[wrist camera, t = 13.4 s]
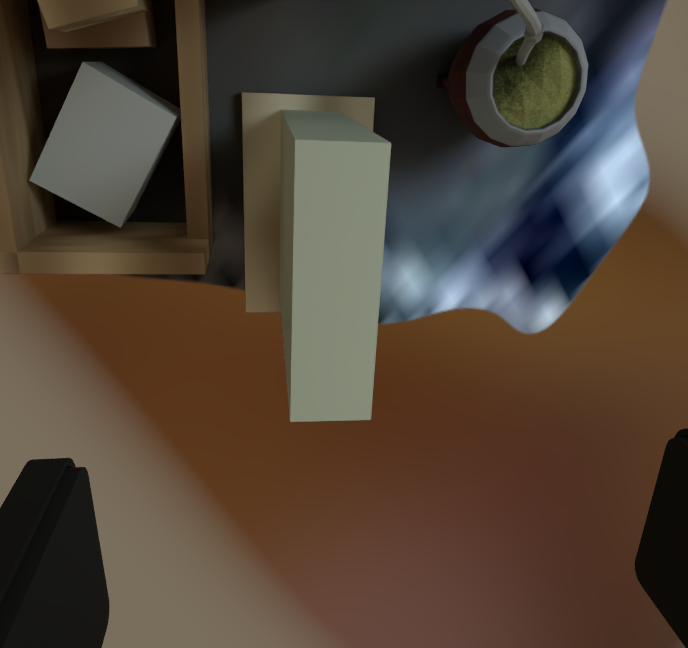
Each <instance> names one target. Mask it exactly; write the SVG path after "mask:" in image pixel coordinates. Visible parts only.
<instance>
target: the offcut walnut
mask: <svg viewBox="0 0 688 648" xmlns="http://www.w3.org/2000/svg"><path fill="white" fill-rule="evenodd" d="M145 1H146V4H147V7H148V11H144V12H141V13H137V14H133V15H129V16H125V17H122V18H118V19H114V20H110V21H106V22H103V23H99V24H95V25H91V26H87V27H84V28H80V29H76V30H72V31H68V32H63V31H57V30H52V29H48V26H47V24H46V21H45V18H44V16H43V13H42V11H41V8H40V6H39V8H40V13H41V19H42V24H43V29H44V34H45V40H46V45H47V48H51V49H64V50H65V49H112V48H158V42H157V34H156V26H155V19H154V11H153V3H152V0H145Z"/></svg>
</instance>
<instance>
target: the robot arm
mask: <svg viewBox="0 0 688 648" xmlns="http://www.w3.org/2000/svg"><path fill="white" fill-rule="evenodd" d="M635 571H636V575H637V578H638V581H639V582H640V584H641V586H642V587H643V589H644V590H645V591H646V593H647V594H648V596H649V597H650V598H651V600H652V601H653V603H654V604H655V605H656V607H657V608H658V610H659V611H660V612H661V614H662V615H663V616H664V618H665V619H666V621H667V622H668V624H669V625H670V626H671V628H672V629H673V630H674V632H675V633H676V635H677V636H678V637H679V639H680V640H681V642H682V643H683V644H684V646H685V647H686V648H688V429H682V430H680V431H678V432H677V434H676V435H675V437H674V438H673V439H670V440H669V441H668V443H667V445H666V448H665V452H664V456H663V459H662V463H661V467H660V471H659V474H658V478H657V482H656V485H655V489H654V493H653V496H652V500H651V504H650V507H649V511H648V515H647V519H646V522H645V526H644V530H643V534H642V537H641V541H640V544H639V548H638V552H637V556H636V559H635ZM108 619H109V597H108V591H107V585H106V579H105V574H104V567H103V561H102V555H101V549H100V543H99V537H98V531H97V524H96V518H95V512H94V506H93V500H92V494H91V488H90V482H89V476H88V472H87V470H86V468H85V467H75V464H74V462H73V460H72V459H71V458H58V459H37V460H30V461H28V462H27V464H26V465H25V466H24V468H23V470H22V472H21V474H20V475H19V477H18V479H17V480H16V482H15V484H14V485H13V487H12V489H11V491H10V492H9V494H8V496H7V497H6V499H5V501H4V503H3V504H2V506H1V508H0V648H101V647H102V644H103V640H104V636H105V633H106V629H107V625H108Z"/></svg>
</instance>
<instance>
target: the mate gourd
mask: <svg viewBox="0 0 688 648" xmlns="http://www.w3.org/2000/svg"><path fill="white" fill-rule="evenodd" d="M510 1H511V3H512V4H513V6H514V7H515V9H516V10H506V11H504V12H502V13H500V14H498V15H497V16H495V17H493V18H491V19H489V20H487V21H486V22H484V23H482V24H480V25H478V26H477V27H476V29H475V30H474V31H473V32H472V33H471V34H470V35H469V37H468V38H467V39H466V40H465V41H464V42H463V43H462V44H461V46H460V48H459V50H458V52H457V55H456V57H455V59H454V61H453V64H452V66H451V68H450V72H449V74H440V75H438V76H437V87H438V88H448V92H449V96H450V99H451V101H452V103H453V105H454V108H455V110H456V113H457V116H458V118H459V120H460V121H461V122H462V123H463V124H464V125H465V126H466V127H467V128H468V129H469V130H470V131H471V132H472V133H473V134H474V135H475V136H476V137H477V138H478V139H480V140H483V141H486V142H488V143H491V144H494V145H497V146H499V147H517V146H529V145H535V144H537V143H539V142H541V141H543V140H545V139H547V138H549V137H551V136H553V135H555V134H557V133H558V132H559V131H560V130H561V129H562V128H563V127H564V126H565V125H566V124H567V122H568V121H569V120H570V119H571V118H572V117H573V116H574V115H575V113H576V111H577V109H578V107H579V105H580V102H581V100H582V98H583V96H584V93H585V91H586V83H587V72H588V62H587V58H586V55H585V51H584V48H583V44H582V41H581V39H580V38H579V37H578V35H577V34H576V33H575V32H574V31H573V29H572V28H571V27H570V26H569V25H568V23H567V22H566V21H565V20H562V19H560V18H558V17H555V16H553V15H551V14H549V13H546V12H544V11H541V10H538V9H533V8H532V6H531V5H530V3H529V2H528V0H510Z"/></svg>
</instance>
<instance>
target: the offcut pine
mask: <svg viewBox="0 0 688 648" xmlns="http://www.w3.org/2000/svg"><path fill="white" fill-rule="evenodd" d="M37 1H38V3H39V6H40V8H41V11H42V13H43V16H44V18H45V21H46V24H47V26H48V29H52V30H57V31H63V32H68V31H72V30H76V29H80V28H84V27H87V26H91V25H95V24H99V23H103V22H106V21H110V20H114V19H118V18H122V17H125V16H129V15H133V14H137V13H141V12H144V11H148V7H147V4H146V1H145V0H37Z"/></svg>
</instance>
